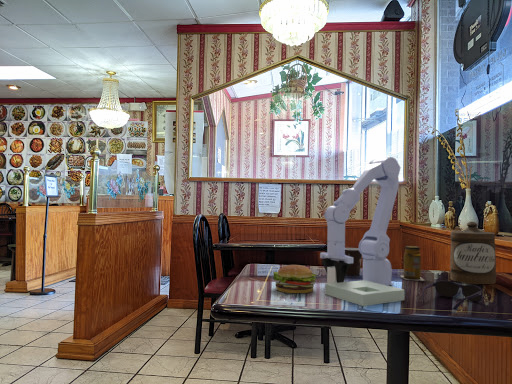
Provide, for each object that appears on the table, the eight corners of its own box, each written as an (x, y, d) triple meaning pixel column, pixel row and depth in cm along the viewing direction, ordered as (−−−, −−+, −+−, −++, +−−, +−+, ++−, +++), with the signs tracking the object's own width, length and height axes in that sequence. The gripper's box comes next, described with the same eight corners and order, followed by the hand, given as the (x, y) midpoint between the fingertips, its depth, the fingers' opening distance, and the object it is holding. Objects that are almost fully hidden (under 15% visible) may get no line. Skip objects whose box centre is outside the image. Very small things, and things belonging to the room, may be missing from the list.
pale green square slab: (364, 289, 128) (364, 280, 128) (404, 300, 114) (404, 289, 114) (325, 294, 120) (325, 284, 120) (362, 306, 106) (362, 294, 106)
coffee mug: (348, 271, 163) (348, 247, 163) (366, 274, 157) (366, 249, 157) (331, 274, 155) (331, 249, 156) (349, 277, 149) (350, 251, 149)
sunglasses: (486, 303, 113) (485, 286, 113) (465, 313, 102) (466, 293, 102) (437, 295, 123) (437, 278, 123) (414, 303, 112) (414, 285, 112)
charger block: (336, 285, 134) (336, 266, 134) (344, 287, 130) (344, 267, 130) (327, 286, 132) (327, 266, 132) (334, 288, 128) (335, 268, 128)
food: (319, 287, 130) (319, 263, 131) (313, 296, 117) (313, 269, 117) (278, 284, 134) (278, 260, 134) (268, 292, 121) (268, 266, 121)
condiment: (419, 277, 153) (419, 246, 154) (425, 281, 145) (425, 248, 146) (400, 276, 155) (400, 245, 155) (404, 280, 146) (404, 247, 147)
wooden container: (454, 283, 142) (454, 221, 142) (446, 276, 156) (446, 220, 157) (501, 286, 138) (501, 222, 138) (489, 279, 152) (488, 221, 153)
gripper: (313, 240, 136) (312, 279, 135) (341, 243, 123) (341, 287, 123) (329, 239, 139) (329, 278, 139) (358, 243, 127) (358, 285, 126)
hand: (335, 282), depth 131 cm, fingers closed on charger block, 4 cm apart
